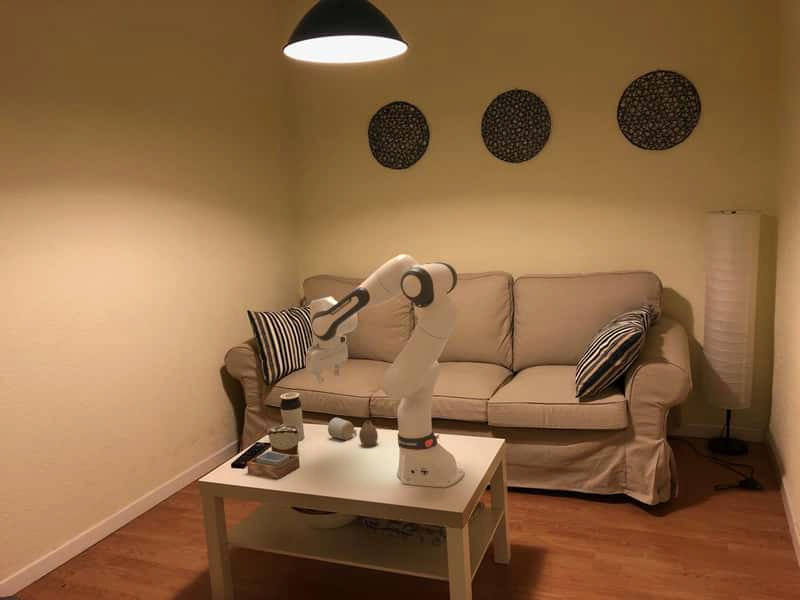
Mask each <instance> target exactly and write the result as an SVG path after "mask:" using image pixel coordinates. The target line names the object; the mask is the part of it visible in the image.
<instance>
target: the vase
mask: <svg viewBox="0 0 800 600" xmlns="http://www.w3.org/2000/svg"><path fill="white" fill-rule="evenodd" d="M358 433H359V434H358V436H359V441H360V444H362V445H363V446H364V447H369V448H370V447H372V446H375V445H376V443H377V441H378V439H379V435H378V431H377V429H376V427H375V426H374V425H373V424H372V423H371V421H365V422H364V423H363V425H362V427H361V428H360V430H359V432H358Z"/></svg>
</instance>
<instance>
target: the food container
mask: <svg viewBox="0 0 800 600" xmlns="http://www.w3.org/2000/svg"><path fill="white" fill-rule="evenodd" d="M298 433H299V434H300V432H299V429H298V427H297V426H295V425H282V424H280V425H276V426H273V427H272V426H271V427H270V428H268V429H267V432H266V436H268V440H269V443H270V448H271V451H273V452H279V453H284V454H289V455H295V456H299V441H298Z"/></svg>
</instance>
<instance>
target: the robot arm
mask: <svg viewBox="0 0 800 600" xmlns="http://www.w3.org/2000/svg"><path fill="white" fill-rule="evenodd" d="M457 284H458V274H457V271H456V269H455V268H454V267H453V266H452V265H451V264H448V263H446V262H440V261H439V262H428V263H425V264H419V262H417V260H416V259H415V258H414V257H413V256H411V255H410V254H405V253H402V254H398V255H397V256H395V257H393V258H391V259H389V260H388V261H386V262H385V263H384V264H383V265H381V266H380V267H379V268H377V270H375V271H374V272H373V273H372V274H370V276H369V277H368V278H367V279H365V280H364V281H363V282H362V283H361V284H360V285H358V286H357V287H356V288H355V289H354V290H353V291H352V292H350V293H349V294H347V295H346V296H345V297H343V298H342V299H341V300H339V301H338V300H335V298H334V297H333V296H331V295H324V296H319V297H317V298H313V299H312V300H311V302H310V306H309V307H310V308H309V315H310V327H311V331H312V332H311V335H312V336H311V337H312V346H309V347H308V349H307V351H306V355H305V370H306V372H307V373H308V374H313V375H314V376H315V378H316V381H317V384H322V383H324V377H323V376H322V375H321V374H322V371H324V370H327V369H329V368H332V367H334V366H335V367H334V370H333V376H334V377H339V376H340V375H341V368H342V363H344V362H346V361H347V360H348V358H349V353H348V350H349V349H348V345H347V336H346V335H345V334H348V333H351V332H353V331H355V330H356V329H357V328H358V326H359V322H360V319H359V318H360V317H359V314H358V313H359V312H361V311H363V310H367V309H369V308H373V307H377V306H381V305H384V304H387V303H390V302H391V301H393V300H394V299H396V298H398V297H399V296H401V294H403V295H404V297H405V298H407V300H409V301H410V302H411V303H413V304H414V306H415V307H417V308H422V312H421V315H420V317H419V319H418V321H417V323H416V325H415V328H414V329H413V332H412V334H411V335H410V338H409V340H408V341H407V343H406V344H405V346H404V347H403V349H402V350H401V351H400V353H399V354H398V355H397V357H396V358H395V360H394V361H393V362H392V363H391V365H390V366H389V367H388V369H386V370H385V372H383V374H382V375H381V378H380V386H381V390H382V392H383V393H384V395H385V396H387V398H389V399H392V400H399V399H400V400H401V402H400V404H399V406H398V408H397V412H396V413H397V414H396V415H397V429H398V432H397V445H398V448H399V453H398V455H399V457H398V467H397V472H396V476H397V478H399V479H400V482H401V484H402V485H403V484H404V485H412V486H422V487H423V486H424V487H435V488H448V487H451V486H453V485H454V484H456V483H458V482H459V481H460V480H461V479H463V477H464V476H465V470H464V469H463V468H461V467H458V466H457V462H456V457H455V456H454V454H452V453H451V452H450V451H448V450H447V449H446V448H445V447H443V446H442V445H441V444H440V443H439V442H438V439H439V438H440V433H439V434H437V435H435V433H434V430H433V428H432V425H433V424H432V402H433V396H434V391H435V386H436V383H437V380H438V378H439V377H440V375H441V365H440V363H439V361H438V359H439V358H440V357H441V355H442V353H443V351H444V349H445V347H446V344H447V342H448V340H449V339H450V337H451V335H452V334H453V333H452V332H453V331H454V327H455V324H456V322H457V319H458V314H459V307H458V304H457V302H456V301H455V300H454V299H452V298H450V297H449V295H448V294H450V293H451V292H452V291H453V290H454V289H455V288H456V286H457Z"/></svg>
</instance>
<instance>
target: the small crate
mask: <svg viewBox="0 0 800 600" xmlns="http://www.w3.org/2000/svg"><path fill="white" fill-rule="evenodd" d="M269 451H270V450H268V451H266V452H264V453H262V454H260V455H258V456H256V457H255V458H256V460H257V463H259V464H264V465H269V466H274V467H279V466H281V465H282V464H284V463H286V462H288V461H290V458H289V455H285V454H280V453H274V452H269Z"/></svg>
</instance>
